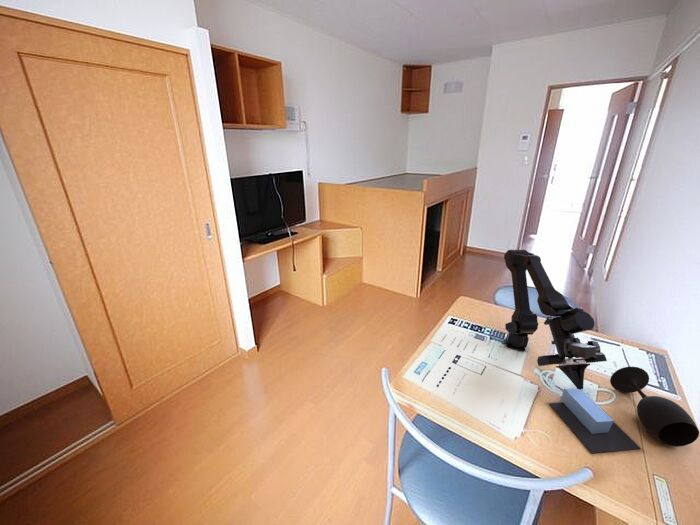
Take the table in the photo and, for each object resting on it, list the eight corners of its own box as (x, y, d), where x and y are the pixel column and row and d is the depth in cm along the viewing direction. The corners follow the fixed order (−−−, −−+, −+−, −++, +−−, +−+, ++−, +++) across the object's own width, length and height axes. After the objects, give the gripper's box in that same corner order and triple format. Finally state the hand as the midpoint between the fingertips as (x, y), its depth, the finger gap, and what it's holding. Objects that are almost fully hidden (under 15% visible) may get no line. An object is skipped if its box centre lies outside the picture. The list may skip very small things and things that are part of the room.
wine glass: (650, 365, 94) (706, 419, 76) (647, 391, 97) (700, 449, 79) (610, 367, 97) (655, 419, 78) (609, 392, 100) (652, 448, 82)
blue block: (564, 388, 93) (596, 422, 82) (579, 387, 94) (613, 420, 83) (560, 399, 95) (591, 433, 84) (575, 398, 96) (608, 432, 85)
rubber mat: (548, 404, 94) (549, 403, 94) (590, 401, 95) (591, 400, 95) (591, 453, 79) (592, 452, 79) (640, 449, 80) (640, 448, 80)
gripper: (553, 333, 88) (571, 391, 82) (612, 330, 90) (634, 386, 84) (529, 339, 98) (544, 391, 92) (582, 336, 100) (600, 387, 94)
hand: (580, 389), depth 90 cm, fingers closed
